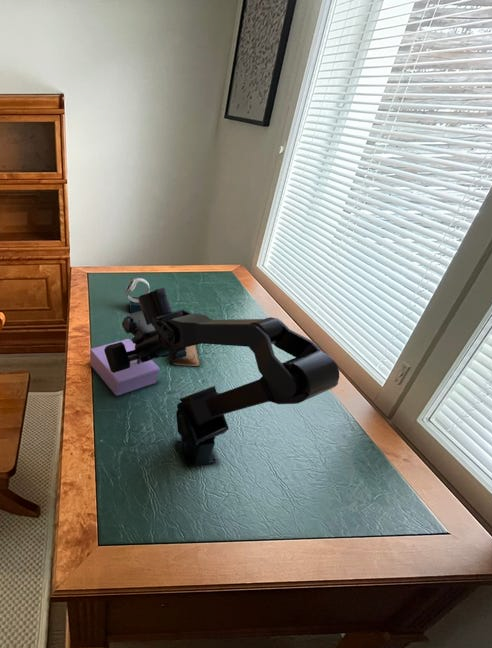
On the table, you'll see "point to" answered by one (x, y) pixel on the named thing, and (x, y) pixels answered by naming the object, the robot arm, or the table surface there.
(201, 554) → the table surface
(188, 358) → the sunglasses case
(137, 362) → the purple square slab
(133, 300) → the watch
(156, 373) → the box
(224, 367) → the table surface
